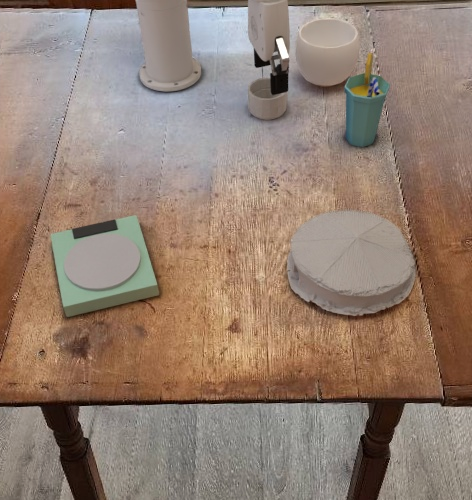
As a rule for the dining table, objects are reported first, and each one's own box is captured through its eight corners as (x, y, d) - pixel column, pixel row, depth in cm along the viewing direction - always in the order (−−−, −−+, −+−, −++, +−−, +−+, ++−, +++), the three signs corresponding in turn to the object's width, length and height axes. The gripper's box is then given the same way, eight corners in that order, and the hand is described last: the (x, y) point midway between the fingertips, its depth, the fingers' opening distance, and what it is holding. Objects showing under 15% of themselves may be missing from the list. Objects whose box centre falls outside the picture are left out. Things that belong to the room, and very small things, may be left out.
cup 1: (358, 64, 139) (363, 17, 131) (353, 98, 131) (359, 51, 124) (298, 60, 140) (299, 14, 133) (290, 94, 133) (291, 47, 125)
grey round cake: (264, 245, 108) (263, 213, 102) (375, 210, 112) (380, 177, 106) (320, 337, 96) (323, 306, 91) (441, 294, 100) (451, 262, 95)
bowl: (243, 102, 132) (243, 81, 128) (279, 95, 133) (279, 74, 129) (255, 124, 127) (254, 102, 124) (291, 116, 128) (292, 95, 125)
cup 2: (389, 164, 119) (402, 87, 107) (344, 166, 119) (353, 89, 107) (376, 117, 127) (387, 40, 115) (335, 119, 127) (342, 43, 115)
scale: (53, 244, 109) (49, 231, 107) (138, 225, 111) (136, 211, 109) (66, 317, 100) (61, 304, 98) (159, 295, 102) (156, 281, 100)
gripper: (232, -34, 116) (238, 60, 129) (262, 10, 105) (266, 108, 119) (273, -42, 117) (275, 52, 130) (308, 1, 106) (306, 99, 120)
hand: (271, 79), depth 125 cm, fingers open, 9 cm apart
